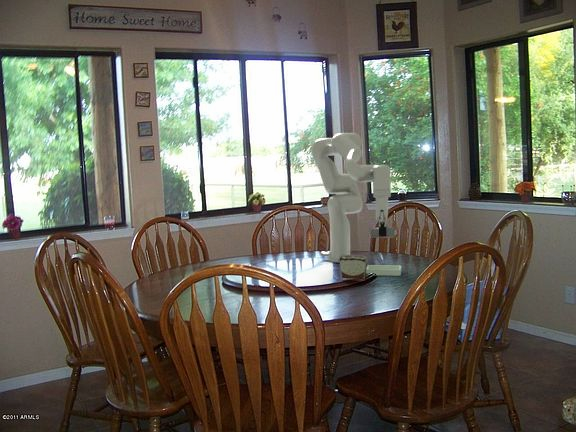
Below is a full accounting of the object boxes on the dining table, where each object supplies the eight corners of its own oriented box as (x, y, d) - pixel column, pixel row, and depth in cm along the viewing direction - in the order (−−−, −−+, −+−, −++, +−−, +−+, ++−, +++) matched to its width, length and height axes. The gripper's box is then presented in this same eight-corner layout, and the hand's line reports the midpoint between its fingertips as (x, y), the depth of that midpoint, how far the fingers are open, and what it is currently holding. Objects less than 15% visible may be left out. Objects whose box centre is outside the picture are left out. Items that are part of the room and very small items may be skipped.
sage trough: (366, 275, 276) (366, 269, 276) (367, 270, 285) (367, 265, 284) (400, 275, 273) (400, 269, 273) (401, 271, 282) (401, 265, 282)
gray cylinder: (371, 238, 280) (370, 228, 280) (371, 237, 284) (371, 227, 284) (396, 238, 278) (396, 228, 278) (396, 236, 283) (396, 226, 282)
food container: (370, 278, 269) (370, 254, 268) (367, 281, 263) (367, 257, 262) (342, 277, 273) (341, 253, 272) (338, 280, 267) (337, 256, 266)
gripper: (374, 192, 288) (375, 233, 290) (372, 195, 272) (373, 238, 274) (391, 192, 287) (391, 233, 289) (390, 194, 271) (391, 238, 272)
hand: (382, 235), depth 281 cm, fingers closed on gray cylinder, 4 cm apart
